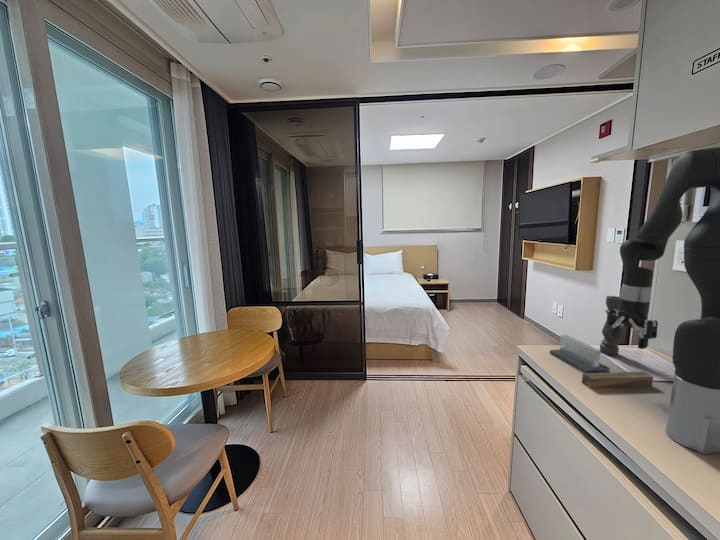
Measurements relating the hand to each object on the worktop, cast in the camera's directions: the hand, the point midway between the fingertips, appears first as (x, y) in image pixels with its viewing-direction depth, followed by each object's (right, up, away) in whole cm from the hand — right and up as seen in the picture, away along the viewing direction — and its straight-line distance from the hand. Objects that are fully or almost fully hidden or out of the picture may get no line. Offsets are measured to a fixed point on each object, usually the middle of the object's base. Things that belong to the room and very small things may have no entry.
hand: (628, 343), depth 101 cm
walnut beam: (-2, -16, +2) cm, 16 cm away
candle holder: (+16, -11, +26) cm, 32 cm away
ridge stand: (-4, -13, +19) cm, 23 cm away
